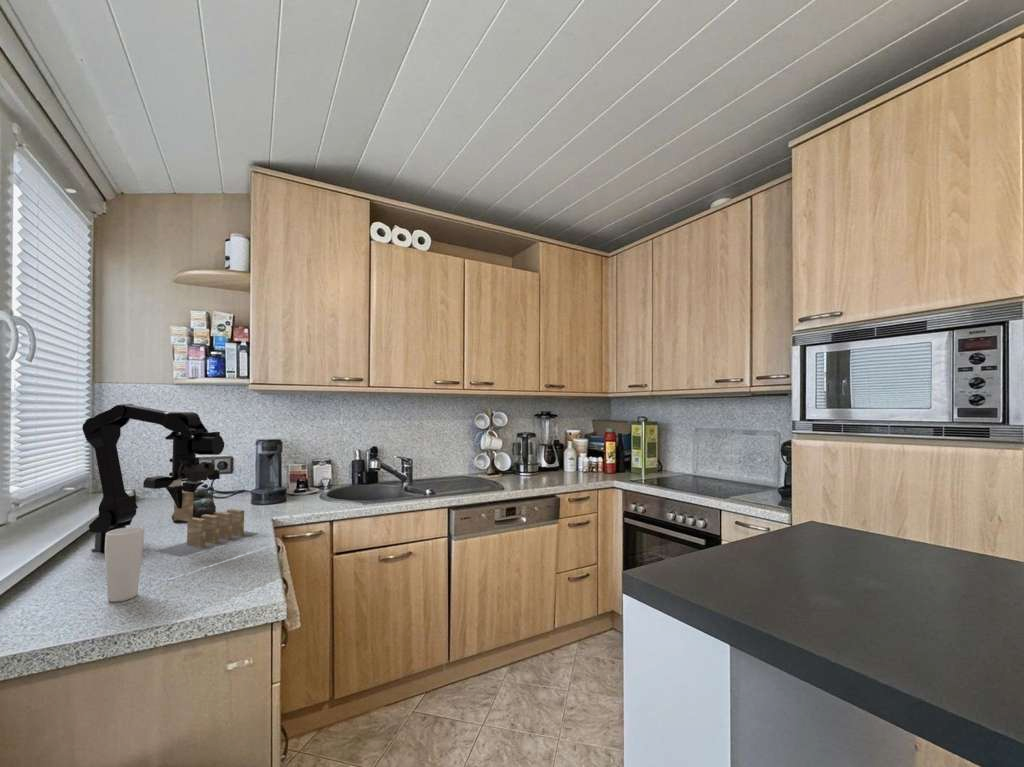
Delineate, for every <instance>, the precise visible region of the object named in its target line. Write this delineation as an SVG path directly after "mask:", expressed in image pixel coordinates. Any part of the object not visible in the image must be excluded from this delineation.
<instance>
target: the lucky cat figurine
mask: <svg viewBox="0 0 1024 767" xmlns="http://www.w3.org/2000/svg"><path fill="white" fill-rule="evenodd" d="M214 488H215V487H214V486H211V485H210V486H209V485H208V484H206V483H205V484H201V485H200V486H199V487H198V488H197V489H196V490H195V492H194V494H193V517H195V518H201V516H202V515H205V514H208V515H215V512H217V508H216V507H217V506H216V505H215V501H214V494H215V489H214ZM171 520H172V522H174V523H178V522H180V520H177V519H174V511H173V512H172V513H171Z"/></svg>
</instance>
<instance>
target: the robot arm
mask: <svg viewBox="0 0 1024 767" xmlns="http://www.w3.org/2000/svg"><path fill="white" fill-rule="evenodd" d="M130 420H136V421H140V422H145V423H150V424H156V425H160V426H162V427H163V428H165V429H166V430H169V431H171V432H170V433H169V434H168V435H166V436H165V438H164V439H165V440H169V441H171V440H172V455H171V456H172V458H169V463H172V464H171V465H172V467H171V472H169V473H168V476H165V475H155V476H149V477H148V476H147V477H145V479H144V481H143V483H142V484H143V485H142V486H143V489H144V488H145V489H150V490H151V489H152V490H153V489H154V490H157V489H166V490H167V491H168V493H169V494H170V496H171V497H172V499H173V502H175V504H176V506H177V508H179V509H181V507H182V491H186V492H193V494H194V492H195V490H196V489H197V488H198V487H199V486H202V485H204V483H205V481H207V480H209V481H214V480H220V479H221V474H220V471H219V470H218V469H215V464H214V463H213V462H207V463H206V462H205V463H204V464H201V463H200V457H197V455H198V456H202V455H203V456H210V455H211V456H213V455H215V456H218V455H219V456H220V455H221V454H222V453H223V450H224V449H225V441H224V438H223V437H222V436H221V432H220V431H211V432H210V431H209V430H208V429H207V427H206V426H205V425H204V424H203V422H202V421H201V418H200V416H199V414H198V413H197V412H193V411H191V412H189V411H187V412H186V411H181V412H180V411H178V412H177V411H175V412H174V411H165V410H160V409H155V408H150V407H147V406H146V407H144V406H139V405H135V404H134V403H119V404H117V405H115V406H113V407H112V408H110V409H108V410H105V411H103V412H100V413H98V414H96V415H95V416H93V417H90V418H87V419H86V420H85V422H84V423H82V427H81V428H82V432H83V435H84V437H85V440H86V441H87V443H88V444H89V445H91V447H93V449H94V452H95V458H96V463H97V468H98V469H97V470H98V472H99V473H98V474H99V480H100V484H101V485H100V486H101V491H102V499H101V501H100V503H99V506H98V516H97V517H96V518H95V519H94V520H93V521H91V523H90V524H89V525H88V528H89V531H90V533H94V548H91V550H90V551H91V552H94V553H100V554H105V537H106V533H107V532H109V531H111V530H115V529H119V528H126V527H128V526H130V525H131V524H132V520H133V519H134V517H135V516H136V515H137V509H139V507H138V505H137V500H136V499H137V498H136V495H134V494H133V495H129V494H128V493H127V491H126V489H125V485H124V479H123V474H122V468H121V463H120V457H119V453H118V448H117V447H118V446H117V445H118V442H119V440H120V437H121V434H122V433H121V432H122V431H121V429H122V428H123V427H124V426H126V425H127V424H128V423H129V421H130Z"/></svg>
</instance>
